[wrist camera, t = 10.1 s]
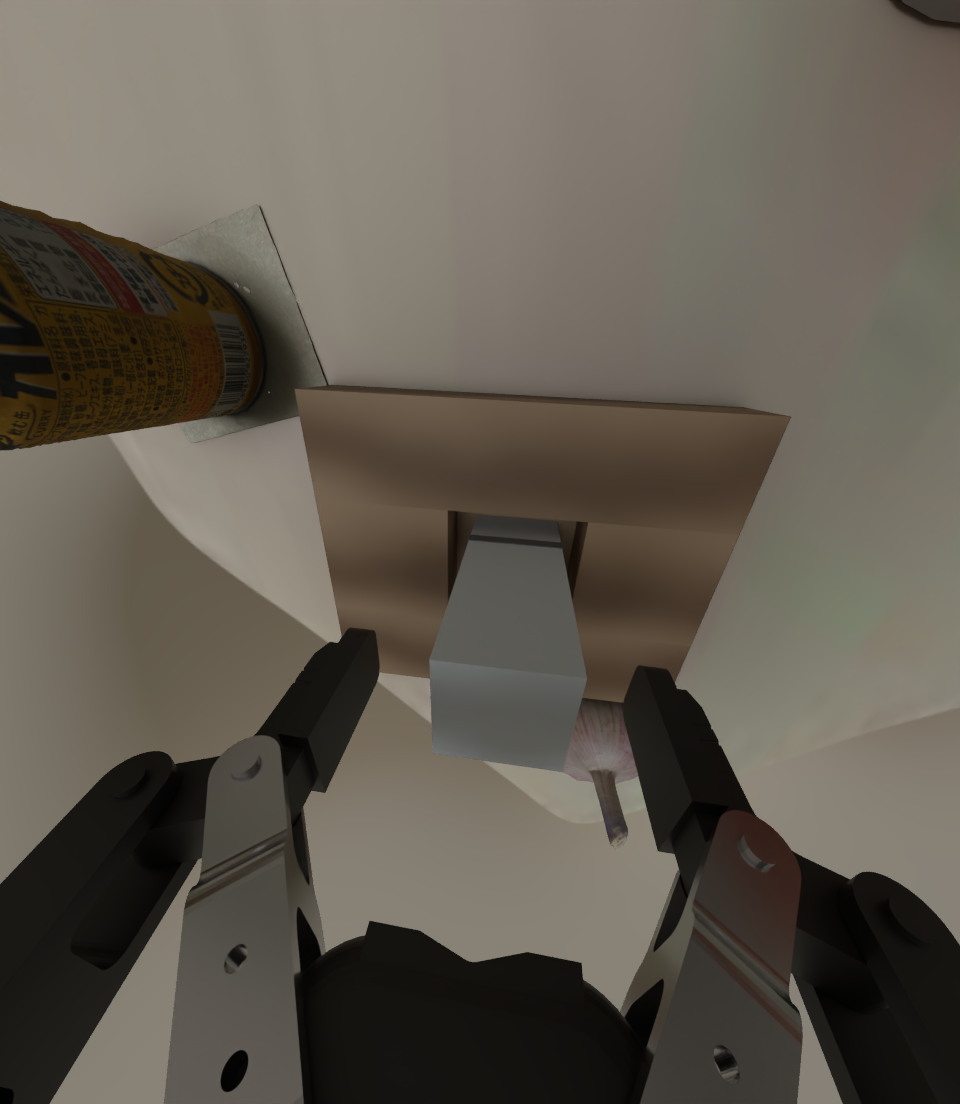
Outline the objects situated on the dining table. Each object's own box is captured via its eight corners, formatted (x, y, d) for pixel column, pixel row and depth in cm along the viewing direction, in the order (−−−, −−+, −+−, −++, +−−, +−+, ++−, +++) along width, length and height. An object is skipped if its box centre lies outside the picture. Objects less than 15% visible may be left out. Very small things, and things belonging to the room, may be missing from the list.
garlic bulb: (667, 710, 24) (727, 857, 17) (583, 752, 27) (603, 891, 20) (591, 648, 22) (621, 782, 15) (510, 701, 25) (504, 832, 18)
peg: (476, 513, 18) (427, 658, 9) (557, 520, 17) (589, 677, 9) (473, 581, 20) (431, 754, 11) (547, 588, 19) (564, 773, 11)
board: (332, 384, 16) (294, 389, 14) (743, 407, 15) (791, 416, 12) (368, 634, 23) (347, 668, 21) (647, 666, 22) (663, 707, 19)
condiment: (97, 273, 15) (-863, 70, 5) (261, 205, 13) (-691, -365, 3) (195, 442, 18) (-248, 547, 8) (337, 405, 17) (12, 476, 6)
